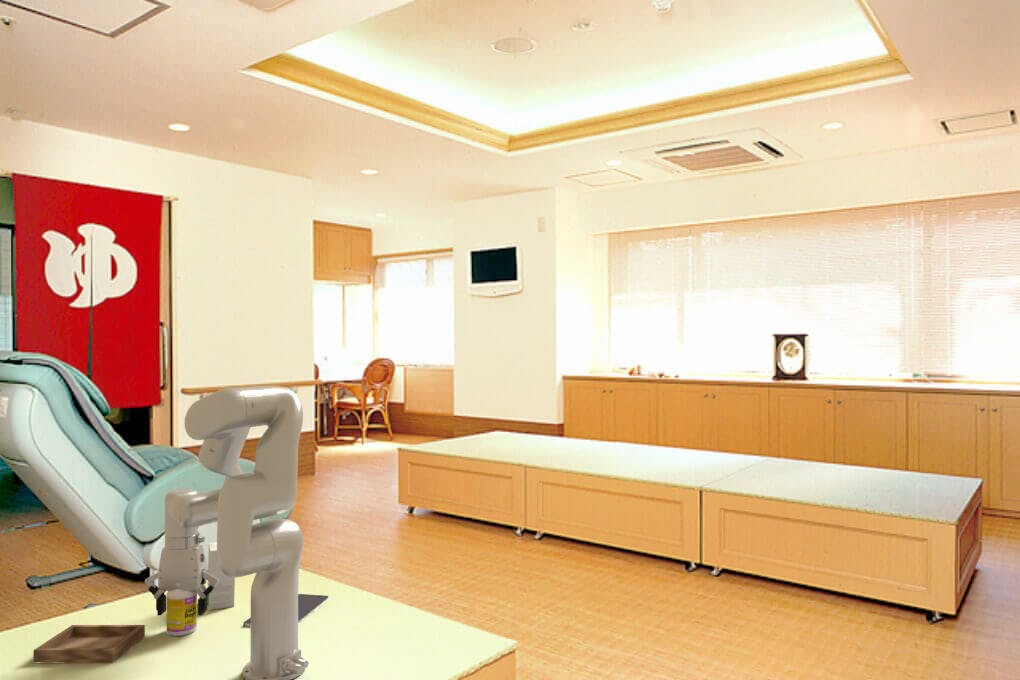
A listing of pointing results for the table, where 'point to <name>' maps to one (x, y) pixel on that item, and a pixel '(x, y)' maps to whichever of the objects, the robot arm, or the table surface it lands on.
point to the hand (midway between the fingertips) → (181, 613)
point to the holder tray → (90, 644)
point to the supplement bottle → (181, 612)
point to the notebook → (303, 606)
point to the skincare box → (219, 583)
